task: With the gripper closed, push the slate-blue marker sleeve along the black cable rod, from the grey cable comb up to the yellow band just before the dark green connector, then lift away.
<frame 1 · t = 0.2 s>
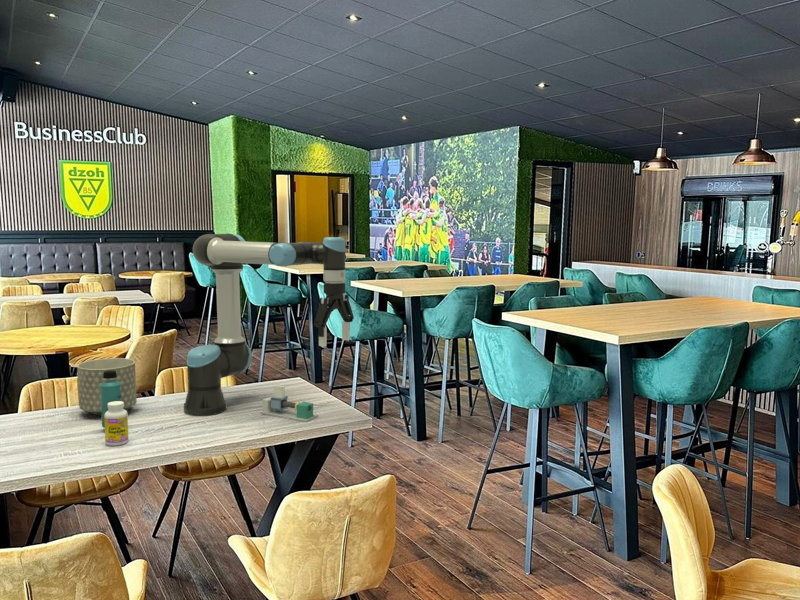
hand: (334, 343, 226), 28 cm above the table, fingers open, 13 cm apart
supplement bottle: (117, 443, 205), on the table
planter: (108, 412, 237), on the table
beverage bottle: (112, 430, 217), on the table
cable rail: (289, 415, 235), on the table
marker sleeve: (279, 397, 236), point 6 cm above the table, slide at 0.0 cm
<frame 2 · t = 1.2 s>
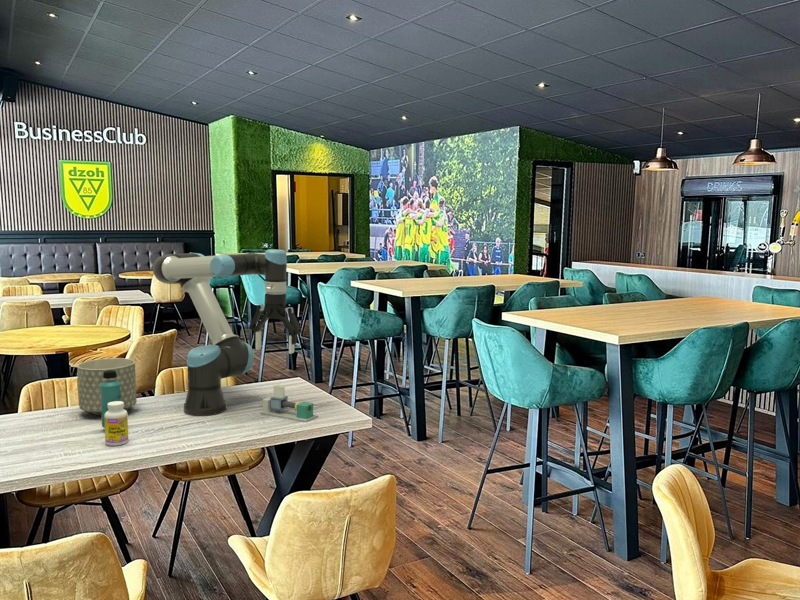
hand: (274, 351, 236), 23 cm above the table, fingers open, 13 cm apart
nothing on the table moved.
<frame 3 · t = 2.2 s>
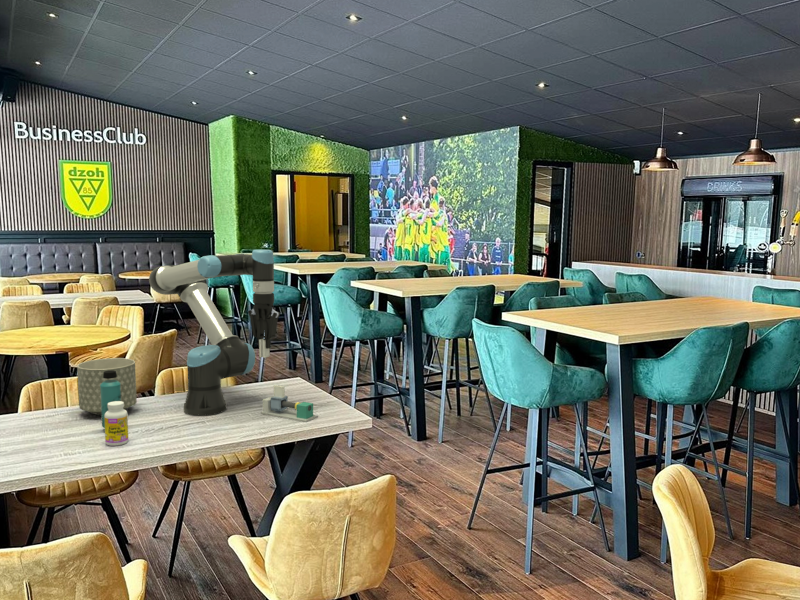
hand: (264, 356, 238), 20 cm above the table, fingers closed
nothing on the table moved.
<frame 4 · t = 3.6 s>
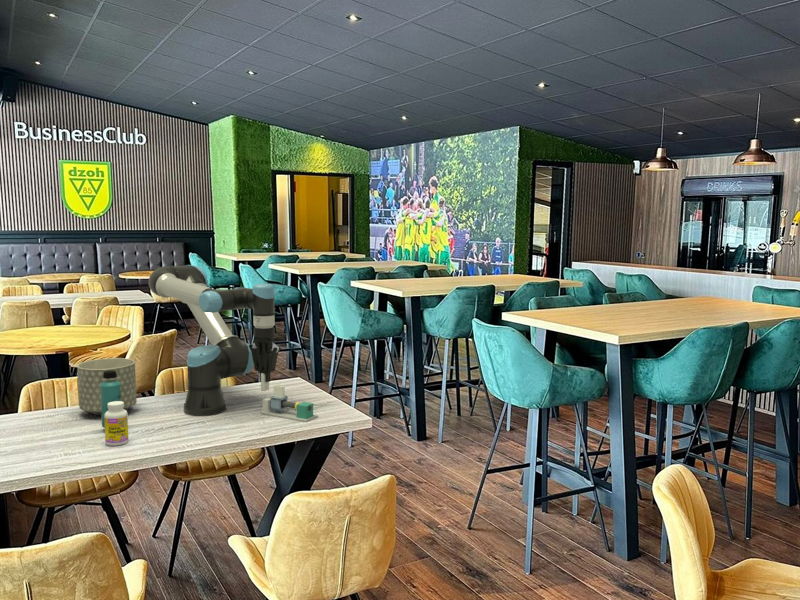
hand: (265, 390, 239), 8 cm above the table, fingers closed
nothing on the table moved.
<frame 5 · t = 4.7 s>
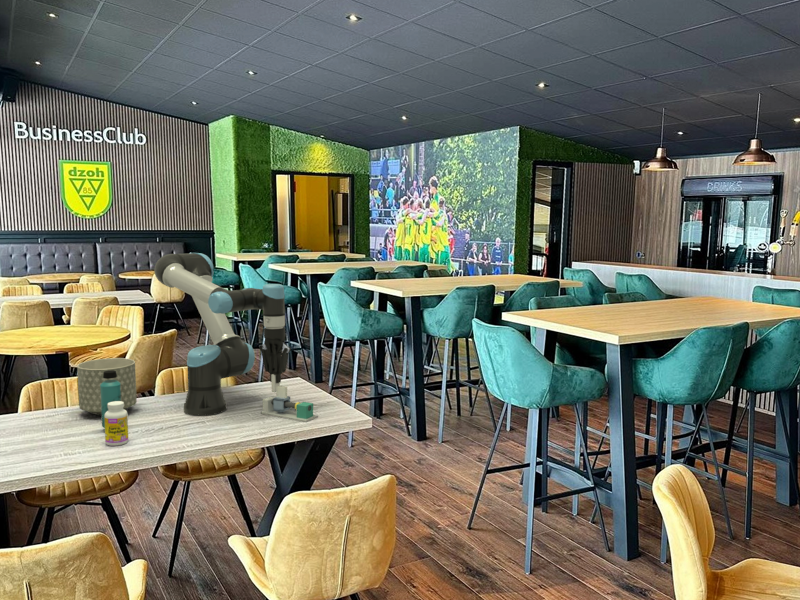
hand: (275, 391, 237), 8 cm above the table, fingers closed
marker sleeve: (281, 398, 236), point 6 cm above the table, slide at 1.3 cm, touching gripper
everything else where it was.
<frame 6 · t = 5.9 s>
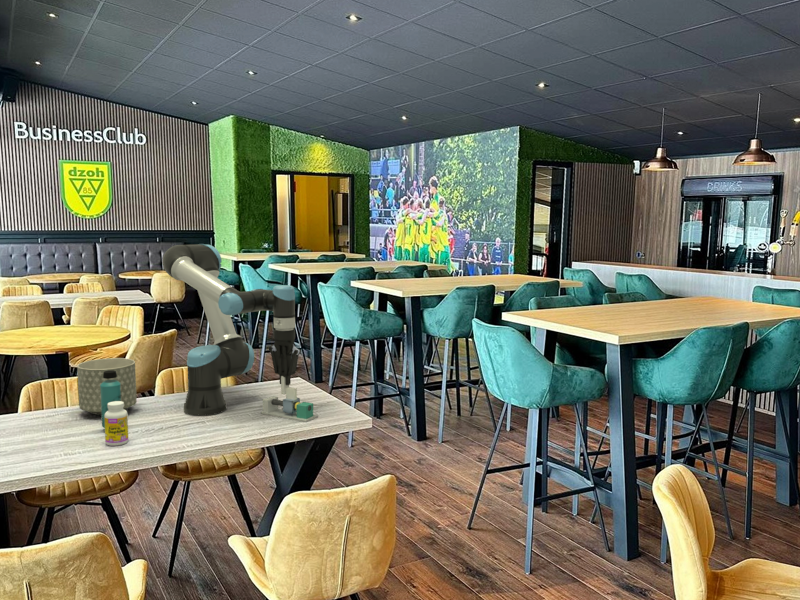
hand: (285, 393, 235), 8 cm above the table, fingers closed
marker sleeve: (291, 399, 234), point 6 cm above the table, slide at 5.5 cm, touching gripper
everything else where it was.
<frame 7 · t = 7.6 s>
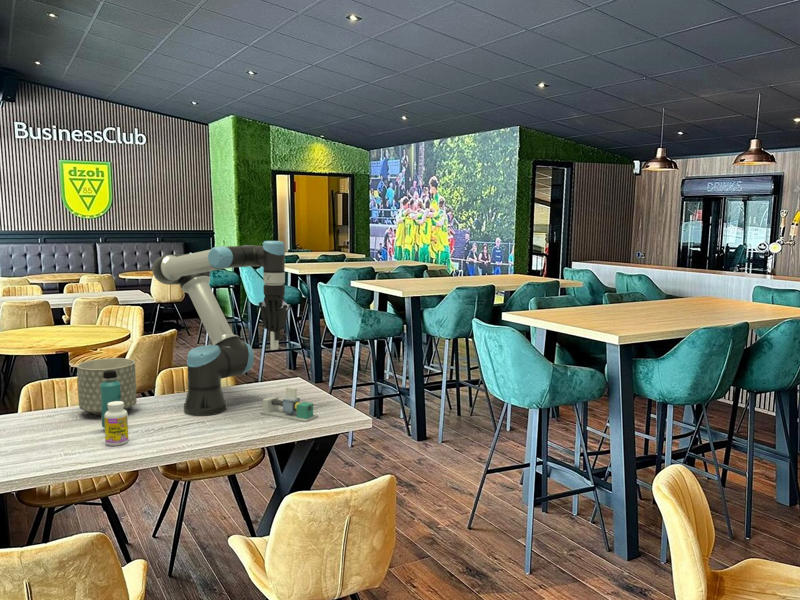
hand: (274, 348, 236), 24 cm above the table, fingers closed
marker sleeve: (291, 399, 234), point 6 cm above the table, slide at 5.5 cm
everything else where it was.
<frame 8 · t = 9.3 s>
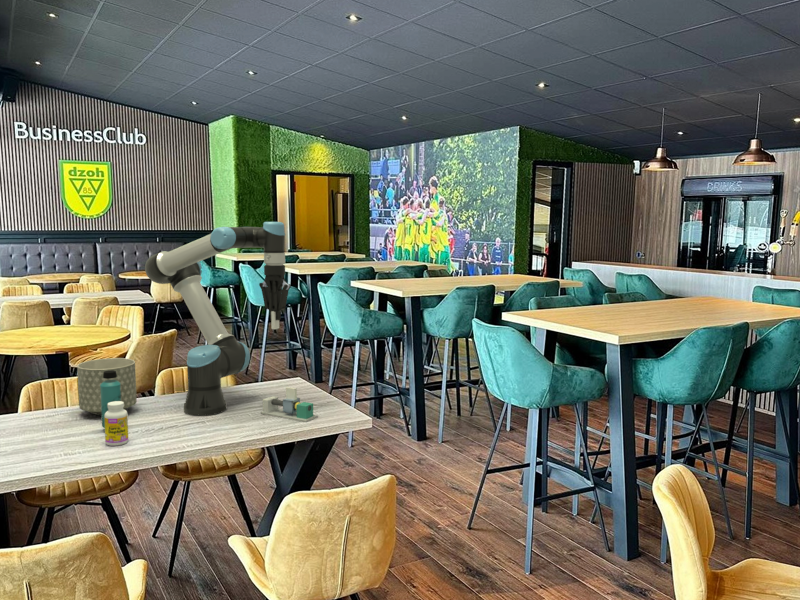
hand: (275, 328, 239), 30 cm above the table, fingers closed
nothing on the table moved.
at the end: marker sleeve slide at 5.5 cm; the gripper is holding nothing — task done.
